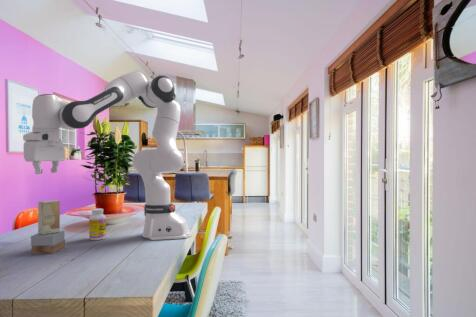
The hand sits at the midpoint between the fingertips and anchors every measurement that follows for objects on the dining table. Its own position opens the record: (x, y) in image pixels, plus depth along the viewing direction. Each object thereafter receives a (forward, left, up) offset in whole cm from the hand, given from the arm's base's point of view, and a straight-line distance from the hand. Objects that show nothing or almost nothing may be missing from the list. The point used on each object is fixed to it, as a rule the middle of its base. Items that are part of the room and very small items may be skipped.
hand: (46, 173), depth 121 cm
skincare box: (0, -1, -23) cm, 23 cm away
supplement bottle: (-11, -18, -30) cm, 36 cm away
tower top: (0, 0, -26) cm, 26 cm away
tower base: (0, 0, -30) cm, 30 cm away
